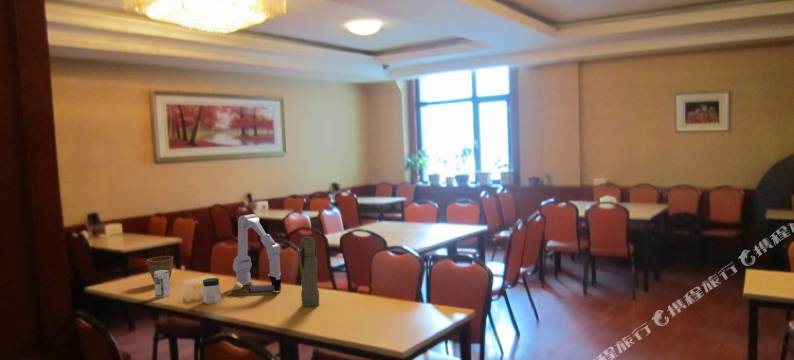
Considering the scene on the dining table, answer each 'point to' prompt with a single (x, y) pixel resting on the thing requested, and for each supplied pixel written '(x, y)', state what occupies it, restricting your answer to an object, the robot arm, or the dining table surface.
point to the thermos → (308, 272)
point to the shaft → (262, 288)
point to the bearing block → (245, 291)
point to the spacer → (237, 286)
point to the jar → (211, 291)
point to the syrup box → (162, 283)
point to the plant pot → (160, 264)
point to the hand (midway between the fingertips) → (276, 289)
